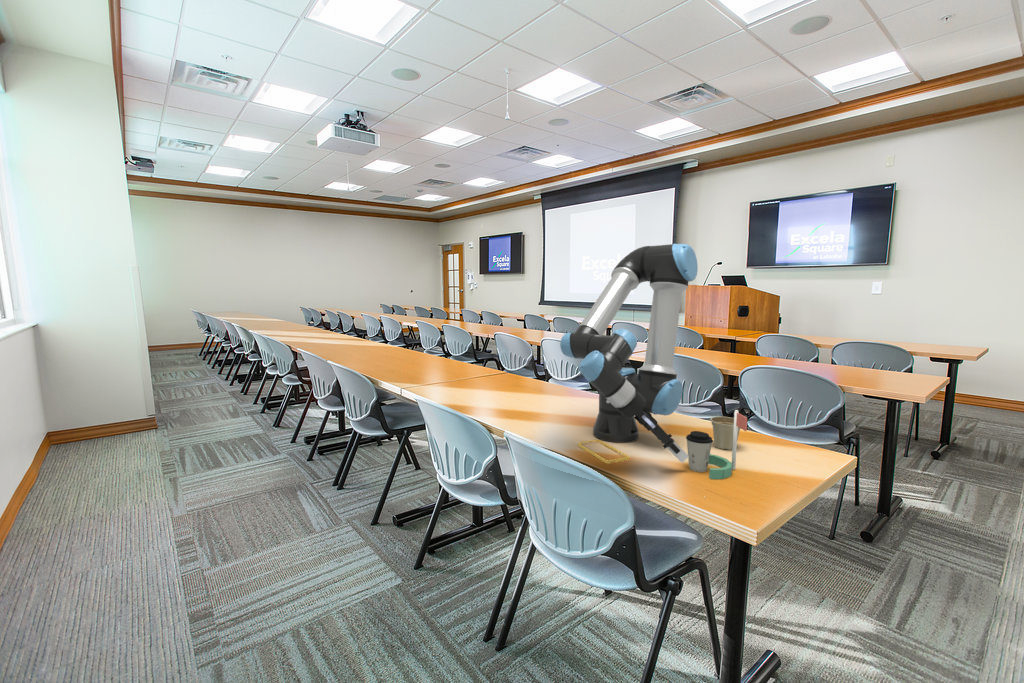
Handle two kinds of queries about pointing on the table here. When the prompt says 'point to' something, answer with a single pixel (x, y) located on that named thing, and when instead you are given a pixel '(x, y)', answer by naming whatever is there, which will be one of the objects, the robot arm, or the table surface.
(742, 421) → the flag
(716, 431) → the flower pot
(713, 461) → the cup ring
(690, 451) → the coffee cup
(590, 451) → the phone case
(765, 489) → the table surface
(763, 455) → the table surface
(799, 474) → the table surface
